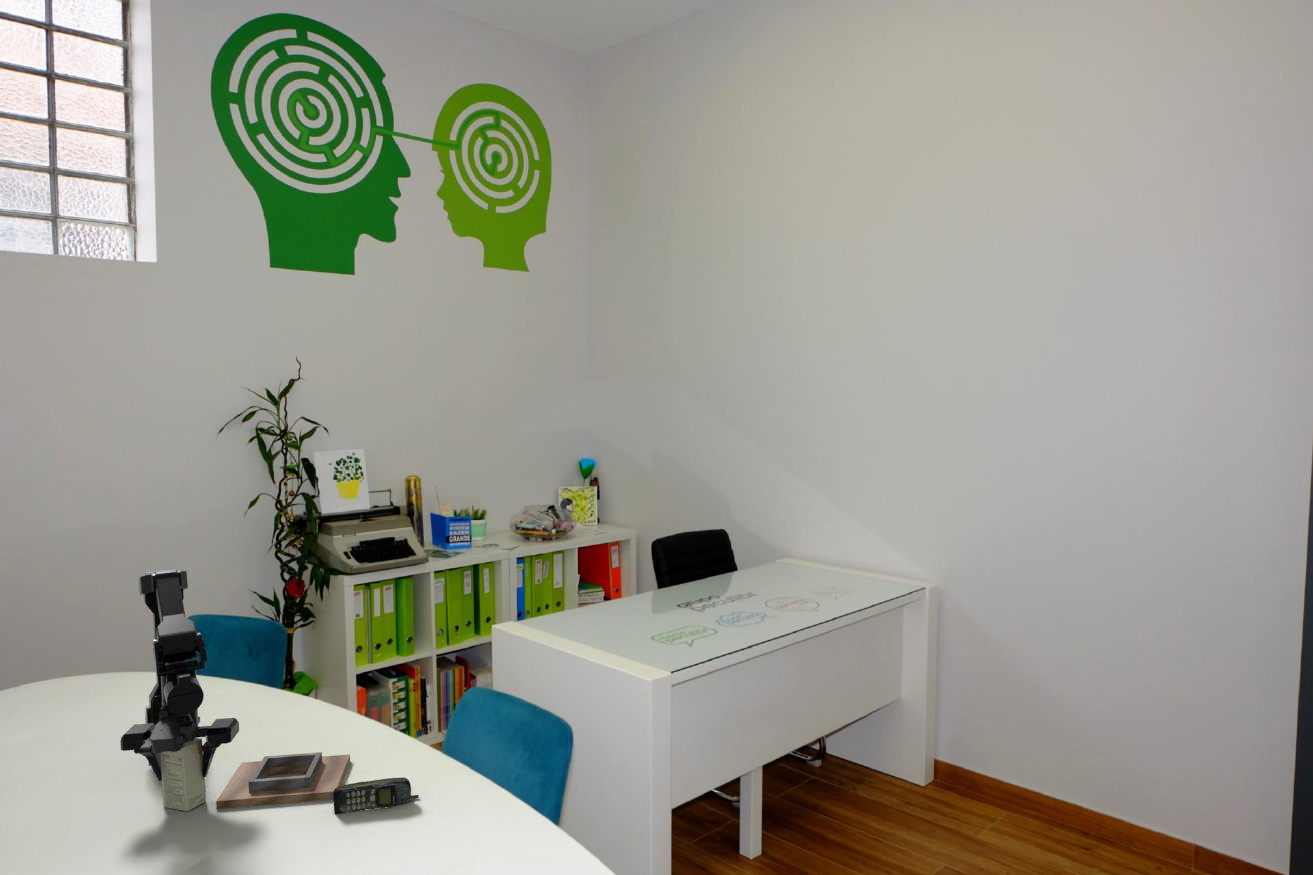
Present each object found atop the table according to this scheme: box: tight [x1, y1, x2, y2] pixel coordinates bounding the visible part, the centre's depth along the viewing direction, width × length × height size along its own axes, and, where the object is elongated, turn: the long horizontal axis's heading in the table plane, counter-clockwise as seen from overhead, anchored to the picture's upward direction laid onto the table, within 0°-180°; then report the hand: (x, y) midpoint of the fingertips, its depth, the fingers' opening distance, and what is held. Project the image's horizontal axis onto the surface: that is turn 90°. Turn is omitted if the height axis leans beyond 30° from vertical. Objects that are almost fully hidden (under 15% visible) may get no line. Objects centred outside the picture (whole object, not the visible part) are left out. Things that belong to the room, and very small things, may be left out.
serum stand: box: [215, 751, 351, 810], centre depth 169 cm, size 21×16×4 cm
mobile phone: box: [332, 776, 419, 815], centre depth 160 cm, size 5×3×15 cm
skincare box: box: [160, 737, 207, 812], centre depth 160 cm, size 6×4×12 cm
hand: (183, 778), depth 161 cm, fingers closed on skincare box, 7 cm apart
